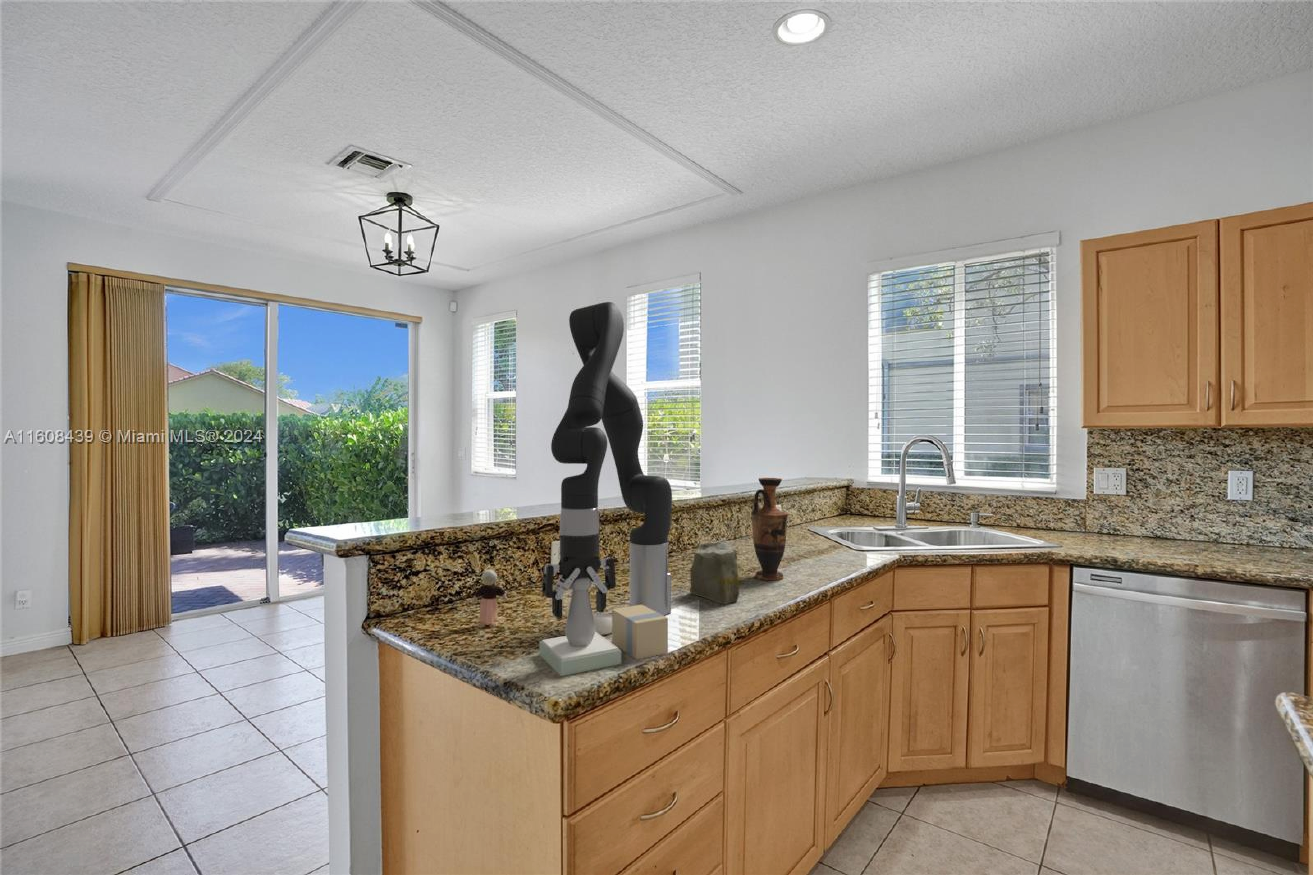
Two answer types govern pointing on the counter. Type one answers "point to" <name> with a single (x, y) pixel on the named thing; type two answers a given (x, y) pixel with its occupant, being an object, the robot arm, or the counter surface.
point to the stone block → (715, 572)
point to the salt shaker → (580, 615)
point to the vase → (769, 531)
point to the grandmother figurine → (488, 599)
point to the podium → (579, 655)
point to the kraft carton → (640, 631)
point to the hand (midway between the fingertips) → (579, 614)
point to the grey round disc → (603, 623)
